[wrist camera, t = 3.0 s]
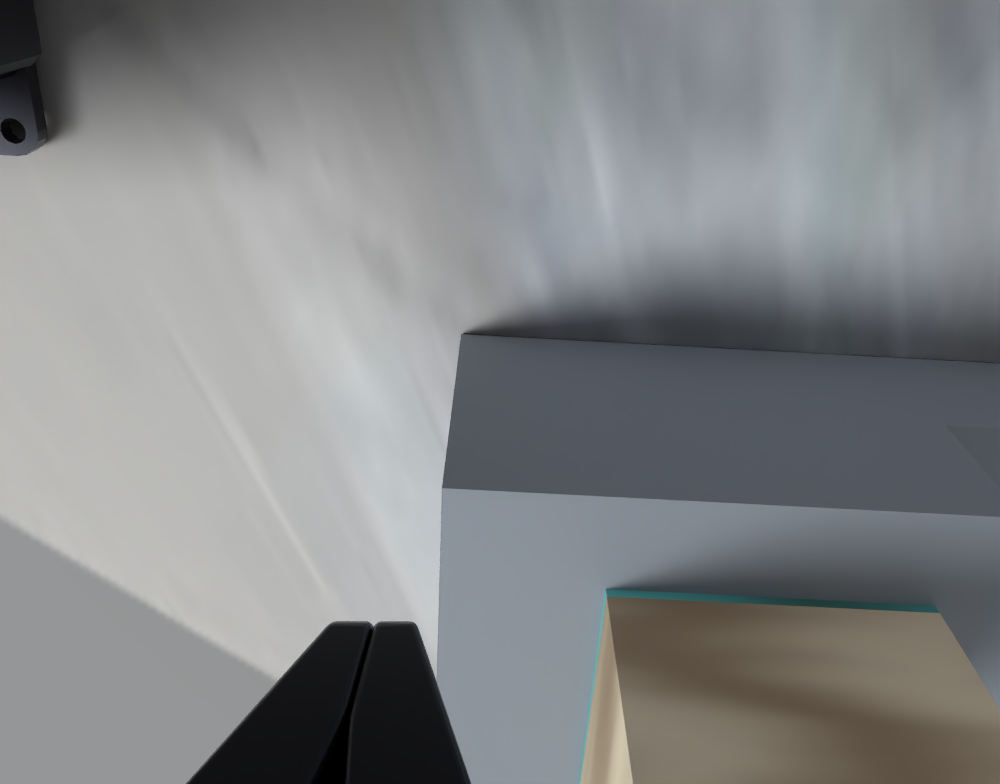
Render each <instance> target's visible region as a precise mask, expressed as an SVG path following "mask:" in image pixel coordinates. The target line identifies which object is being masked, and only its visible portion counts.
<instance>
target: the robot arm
mask: <svg viewBox="0 0 1000 784" xmlns="http://www.w3.org/2000/svg"><path fill="white" fill-rule="evenodd" d="M40 54H41V45H40V39H39V33H38V28H37V22H36V16H35V11H34V5H33V0H0V155H13V156H20V155H27V154H29V153H31V152H33V151H35V150H37V149H38V148H40V147H41V146H43V144H44V142H45V140H46V138H47V126H46V121H45V115H44V110H43V104H42V99H41V93H40V88H39V82H38V77H37V71H36V65H35V61H36V60H37V58H38V57H39V56H40ZM11 119H15V120H18V121H19V122H20V123H21V124H22V125H23V126H24V129H25V131H26V137H25V139H21V138H18V137H17V136H16V135H15V134H14V133H13V132H12V130H11V127H10V120H11ZM186 784H471V781H470V778H469V775H468V772H467V769H466V766H465V764H464V761H463V758H462V755H461V752H460V749H459V746H458V743H457V740H456V737H455V734H454V731H453V729H452V726H451V723H450V720H449V717H448V714H447V711H446V708H445V705H444V702H443V699H442V696H441V693H440V691H439V688H438V685H437V682H436V679H435V676H434V673H433V670H432V667H431V664H430V661H429V658H428V656H427V653H426V650H425V647H424V644H423V641H422V638H421V635H420V632H419V629H418V627H417V625H416V624H415V623H413V622H409V621H381V622H378V623H377V624H376V625H375V626H374V627H373V625H372V624H371V623H369V622H367V621H336V622H332V623H331V624H329V625H328V626H327V627H326V628H325V629H324V630H323V631H322V632H321V633H320V635H319V636H318V637H317V638H316V639H315V640H314V641H313V642H312V643H311V645H310V646H309V647H308V648H307V649H306V650H305V651H304V652H303V654H302V655H301V656H300V657H299V658H298V659H297V660H296V661H295V662H294V664H293V665H292V666H291V667H290V668H289V669H288V670H287V671H286V673H285V674H284V675H283V676H282V677H281V678H280V679H279V680H278V681H277V683H276V684H275V685H274V686H273V687H272V688H271V689H270V691H269V692H268V693H267V694H266V695H265V696H264V697H263V698H262V700H260V702H259V703H258V704H257V705H256V706H255V707H254V708H253V710H252V711H251V712H250V713H249V714H248V715H247V716H246V717H245V718H244V720H243V721H242V722H241V723H240V724H239V725H238V726H237V727H236V728H235V729H234V731H233V732H232V733H231V734H230V735H229V736H228V737H227V738H226V740H225V741H224V742H223V743H222V744H221V745H220V746H219V747H218V748H217V750H216V751H215V752H214V753H213V754H212V755H211V756H210V757H209V759H208V760H207V761H206V762H205V763H204V764H203V765H202V766H201V768H200V769H199V770H198V771H197V772H196V773H195V774H194V775H193V776H192V778H191V779H190V780H189V781H188V782H187V783H186Z"/></svg>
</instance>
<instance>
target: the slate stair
mask: <svg viewBox="0 0 1000 784" xmlns="http://www.w3.org/2000/svg"><path fill="white" fill-rule="evenodd" d="M606 589H614V590H634V591H654V592H674V593H694V594H714V595H734V596H753V597H773V598H793V599H813V600H833V601H853V602H873V603H893V604H913V605H933V606H936V608H937V609H938V611H939V612H940V614H941V616H942V617H943V619H944V620H945V622H946V624H947V625H948V627H949V628H950V630H951V632H952V633H953V635H954V636H955V638H956V640H957V641H958V643H959V644H960V646H961V648H962V649H963V651H964V652H965V654H966V656H967V657H968V659H969V661H970V662H971V664H972V665H973V667H974V669H975V670H976V672H977V673H978V675H979V677H980V678H981V680H982V681H983V683H984V685H985V686H986V688H987V689H988V691H989V693H990V694H991V696H992V697H993V699H994V701H995V702H996V704H997V705H998V707H999V709H1000V363H982V362H964V361H945V360H927V359H908V358H890V357H871V356H853V355H835V354H816V353H798V352H779V351H761V350H742V349H724V348H705V347H687V346H668V345H650V344H631V343H613V342H594V341H576V340H557V339H539V338H520V337H502V336H484V335H465V334H461V341H460V349H459V357H458V365H457V373H456V381H455V389H454V397H453V405H452V413H451V421H450V429H449V437H448V445H447V453H446V461H445V469H444V477H443V485H442V510H441V546H440V582H439V617H438V653H437V685H438V688H439V691H440V693H441V696H442V699H443V702H444V705H445V708H446V711H447V714H448V717H449V720H450V723H451V726H452V729H453V731H454V734H455V737H456V740H457V743H458V746H459V749H460V752H461V755H462V758H463V761H464V764H465V766H466V769H467V772H468V775H469V778H470V781H471V784H578V783H579V776H580V769H581V762H582V755H583V747H584V740H585V733H586V726H587V719H588V712H589V705H590V697H591V690H592V683H593V676H594V669H595V662H596V655H597V647H598V640H599V633H600V626H601V619H602V612H603V604H604V597H605V590H606Z"/></svg>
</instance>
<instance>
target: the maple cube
mask: <svg viewBox="0 0 1000 784" xmlns="http://www.w3.org/2000/svg"><path fill="white" fill-rule="evenodd" d="M578 784H1000V709H999V707H998V705H997V704H996V702H995V701H994V699H993V697H992V696H991V694H990V693H989V691H988V689H987V688H986V686H985V685H984V683H983V681H982V680H981V678H980V677H979V675H978V673H977V672H976V670H975V669H974V667H973V665H972V664H971V662H970V661H969V659H968V657H967V656H966V654H965V652H964V651H963V649H962V648H961V646H960V644H959V643H958V641H957V640H956V638H955V636H954V635H953V633H952V632H951V630H950V628H949V627H948V625H947V624H946V622H945V620H944V619H943V617H942V616H941V614H940V612H939V611H938V609H937V608H936V606H933V605H913V604H893V603H873V602H853V601H833V600H813V599H793V598H773V597H753V596H734V595H714V594H694V593H674V592H654V591H634V590H614V589H606V590H605V597H604V604H603V612H602V619H601V626H600V633H599V640H598V647H597V655H596V662H595V669H594V676H593V683H592V690H591V697H590V705H589V712H588V719H587V726H586V733H585V740H584V747H583V755H582V762H581V769H580V776H579V783H578Z"/></svg>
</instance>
